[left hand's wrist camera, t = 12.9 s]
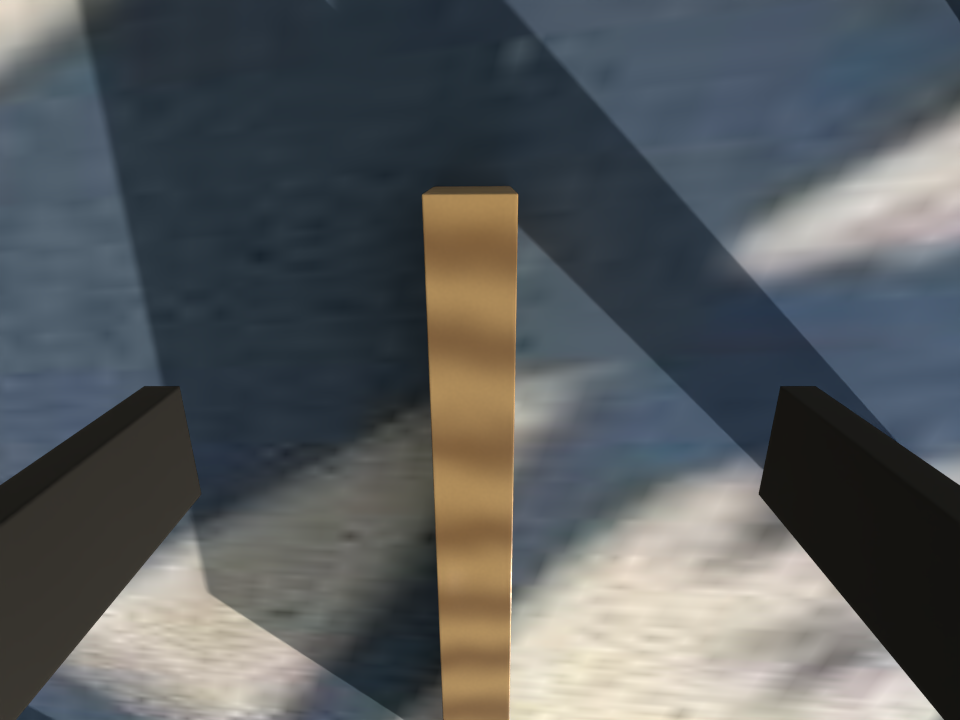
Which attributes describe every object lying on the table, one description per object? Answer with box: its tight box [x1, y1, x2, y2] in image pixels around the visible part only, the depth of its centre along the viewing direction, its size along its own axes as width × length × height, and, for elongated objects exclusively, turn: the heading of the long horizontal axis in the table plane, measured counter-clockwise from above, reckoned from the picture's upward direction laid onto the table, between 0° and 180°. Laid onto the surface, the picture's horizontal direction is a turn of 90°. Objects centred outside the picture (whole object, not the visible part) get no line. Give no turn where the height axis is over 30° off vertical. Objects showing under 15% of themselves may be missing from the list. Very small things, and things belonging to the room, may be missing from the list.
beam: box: [422, 186, 518, 720], centre depth 41 cm, size 53×5×8 cm, turn 0°
